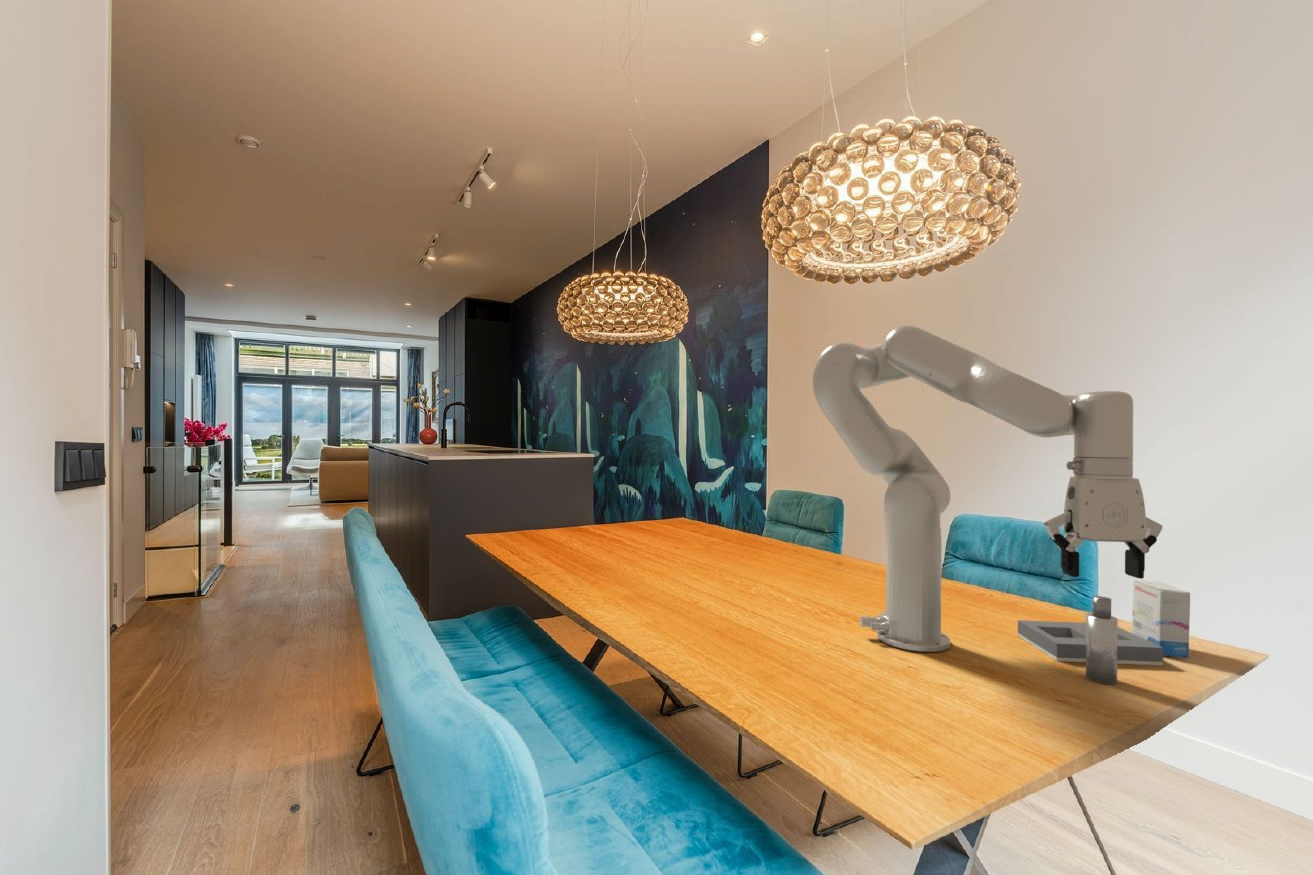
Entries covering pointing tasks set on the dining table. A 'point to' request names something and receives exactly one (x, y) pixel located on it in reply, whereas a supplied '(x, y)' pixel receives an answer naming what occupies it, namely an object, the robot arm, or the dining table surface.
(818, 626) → the dining table surface
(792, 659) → the dining table surface
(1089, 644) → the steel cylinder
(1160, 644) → the ink box
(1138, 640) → the socket board
